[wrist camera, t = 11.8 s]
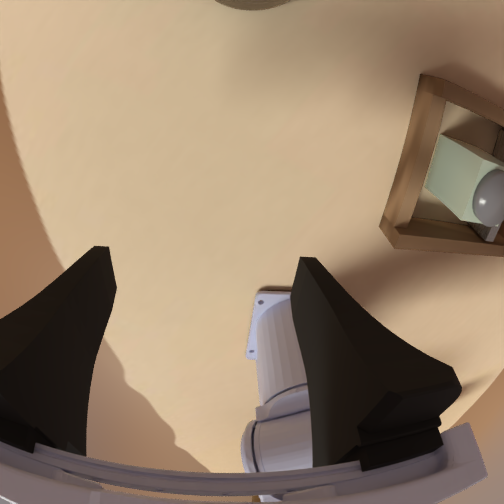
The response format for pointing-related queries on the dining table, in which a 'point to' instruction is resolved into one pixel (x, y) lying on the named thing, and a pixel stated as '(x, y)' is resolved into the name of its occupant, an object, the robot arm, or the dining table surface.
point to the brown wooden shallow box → (415, 168)
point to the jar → (467, 181)
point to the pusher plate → (502, 153)
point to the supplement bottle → (252, 4)
